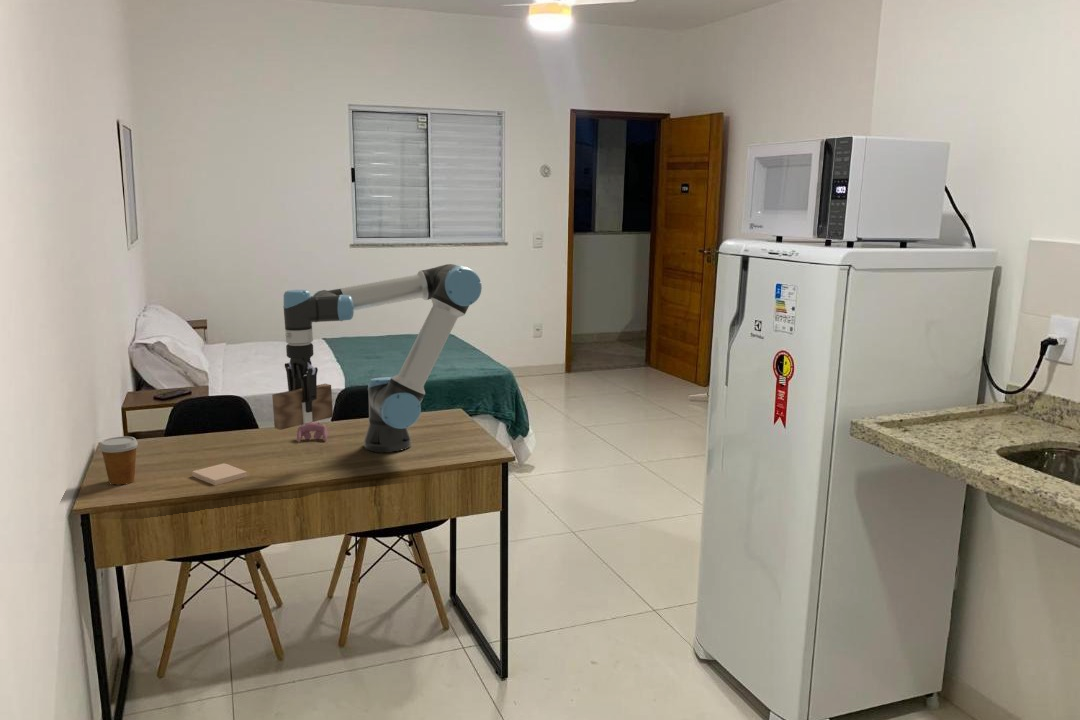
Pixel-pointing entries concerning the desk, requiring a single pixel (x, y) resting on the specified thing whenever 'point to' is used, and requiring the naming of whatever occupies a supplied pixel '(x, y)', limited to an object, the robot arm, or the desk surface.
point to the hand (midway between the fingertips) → (304, 421)
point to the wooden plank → (290, 407)
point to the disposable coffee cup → (119, 459)
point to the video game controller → (312, 426)
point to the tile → (219, 474)
